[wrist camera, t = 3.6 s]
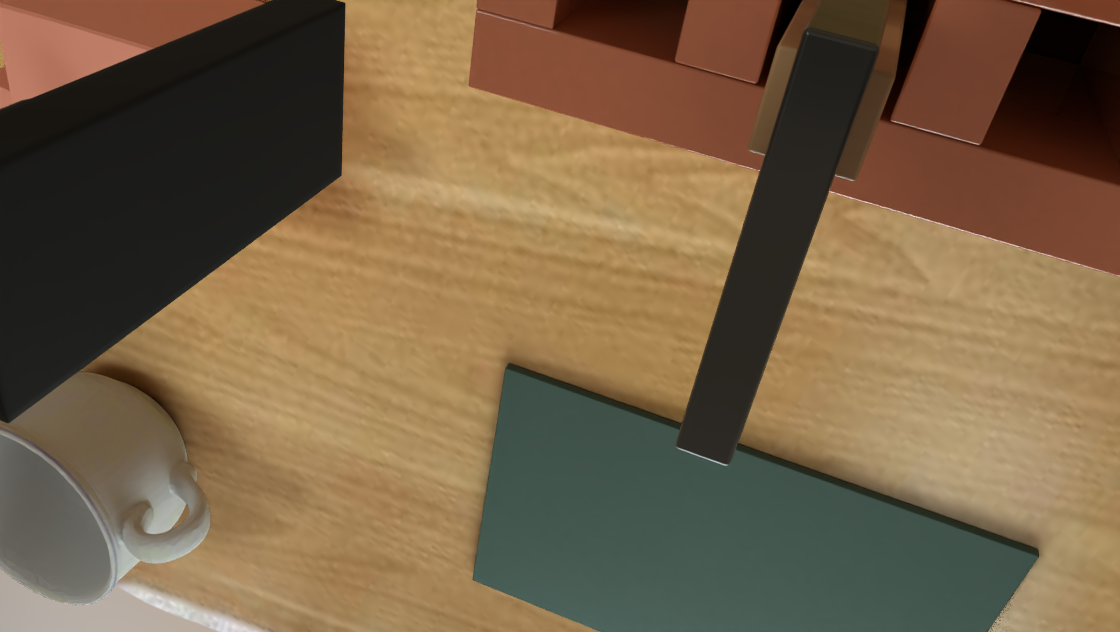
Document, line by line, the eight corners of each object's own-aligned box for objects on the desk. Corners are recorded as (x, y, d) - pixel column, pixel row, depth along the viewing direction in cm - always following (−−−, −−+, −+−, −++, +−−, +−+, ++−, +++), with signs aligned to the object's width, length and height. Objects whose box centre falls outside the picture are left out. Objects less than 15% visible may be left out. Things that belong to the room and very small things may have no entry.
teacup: (67, 460, 55) (-48, 556, 49) (38, 314, 49) (-98, 402, 43) (271, 547, 53) (178, 660, 46) (269, 404, 46) (161, 512, 40)
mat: (1038, 549, 36) (1039, 556, 35) (904, 747, 44) (904, 754, 43) (508, 362, 40) (505, 367, 39) (475, 574, 48) (472, 580, 47)
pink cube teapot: (367, 210, 38) (246, 310, 32) (122, 131, 41) (-39, 210, 34) (373, 21, 34) (233, 92, 27) (97, -54, 36) (-94, -6, 29)
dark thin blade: (946, -149, 25) (941, 62, 9) (871, 64, 29) (771, 484, 13) (873, -164, 26) (747, 12, 10) (806, 47, 29) (633, 435, 13)
